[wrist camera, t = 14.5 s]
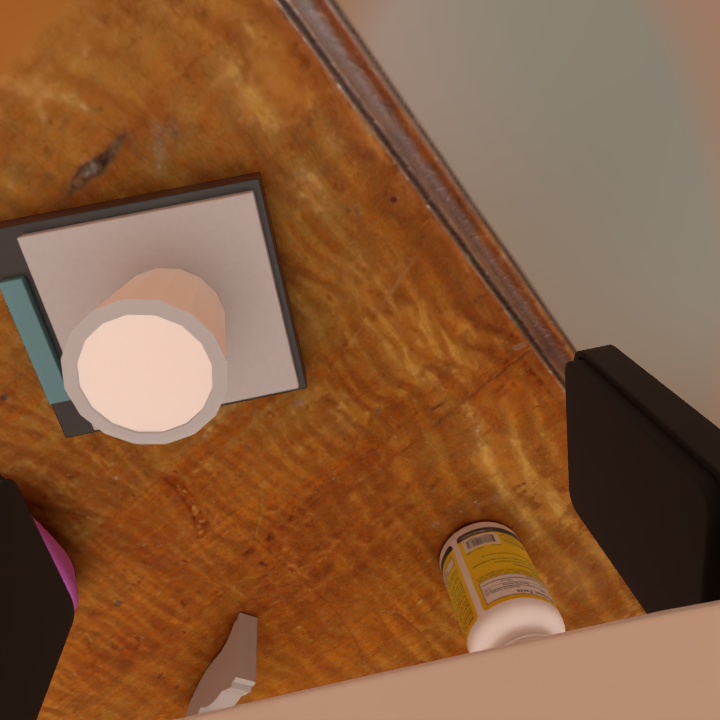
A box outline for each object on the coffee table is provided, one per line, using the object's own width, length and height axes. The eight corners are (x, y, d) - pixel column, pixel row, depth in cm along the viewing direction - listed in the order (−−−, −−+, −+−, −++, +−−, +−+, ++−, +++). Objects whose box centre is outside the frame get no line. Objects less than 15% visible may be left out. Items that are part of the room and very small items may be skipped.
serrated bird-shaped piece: (257, 616, 46) (202, 708, 49) (240, 611, 46) (185, 704, 49) (255, 683, 41) (194, 782, 44) (235, 678, 41) (174, 778, 43)
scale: (260, 171, 34) (258, 180, 31) (305, 371, 39) (308, 394, 36) (-4, 222, 33) (-31, 236, 30) (77, 418, 38) (61, 446, 35)
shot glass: (263, 338, 34) (259, 397, 28) (157, 400, 35) (130, 472, 28) (186, 229, 31) (163, 267, 25) (72, 299, 32) (22, 354, 26)
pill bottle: (478, 597, 48) (531, 734, 38) (420, 560, 46) (460, 695, 36) (537, 544, 47) (609, 672, 37) (480, 503, 44) (539, 627, 34)
